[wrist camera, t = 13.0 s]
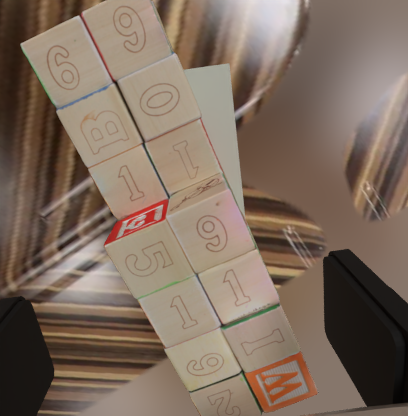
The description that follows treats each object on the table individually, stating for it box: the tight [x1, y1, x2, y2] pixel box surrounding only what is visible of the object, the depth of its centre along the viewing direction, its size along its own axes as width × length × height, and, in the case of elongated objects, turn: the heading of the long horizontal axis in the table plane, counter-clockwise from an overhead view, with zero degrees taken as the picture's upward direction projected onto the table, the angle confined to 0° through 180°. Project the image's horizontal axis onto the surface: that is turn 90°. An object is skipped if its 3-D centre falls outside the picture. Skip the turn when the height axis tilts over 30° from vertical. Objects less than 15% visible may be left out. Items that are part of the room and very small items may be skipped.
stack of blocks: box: [21, 0, 319, 416], centre depth 21 cm, size 21×6×12 cm, turn 23°
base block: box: [184, 64, 245, 218], centre depth 29 cm, size 18×8×4 cm, turn 8°
